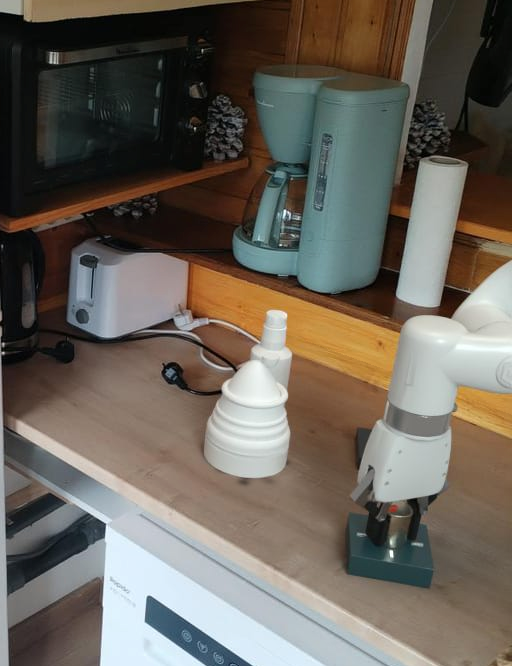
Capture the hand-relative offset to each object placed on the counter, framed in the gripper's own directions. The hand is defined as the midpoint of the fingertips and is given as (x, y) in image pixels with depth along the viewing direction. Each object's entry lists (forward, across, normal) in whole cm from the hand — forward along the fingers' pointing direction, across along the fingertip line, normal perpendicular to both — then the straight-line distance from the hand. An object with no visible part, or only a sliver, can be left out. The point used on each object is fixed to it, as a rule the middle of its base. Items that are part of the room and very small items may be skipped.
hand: (390, 536), depth 119 cm
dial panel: (+4, 0, 0) cm, 4 cm away
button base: (+4, -17, -21) cm, 27 cm away
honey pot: (+4, +6, -28) cm, 29 cm away
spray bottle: (+4, -4, -42) cm, 42 cm away
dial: (0, 0, 0) cm, 0 cm away
